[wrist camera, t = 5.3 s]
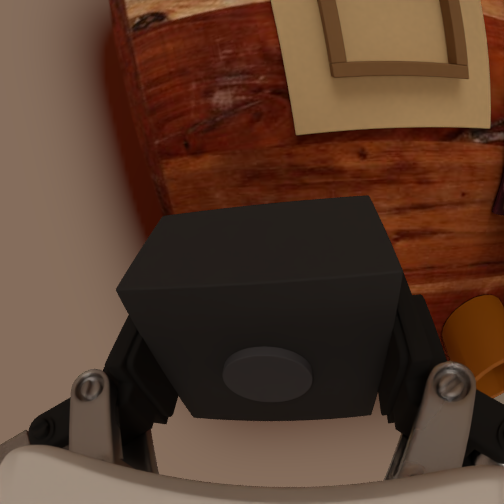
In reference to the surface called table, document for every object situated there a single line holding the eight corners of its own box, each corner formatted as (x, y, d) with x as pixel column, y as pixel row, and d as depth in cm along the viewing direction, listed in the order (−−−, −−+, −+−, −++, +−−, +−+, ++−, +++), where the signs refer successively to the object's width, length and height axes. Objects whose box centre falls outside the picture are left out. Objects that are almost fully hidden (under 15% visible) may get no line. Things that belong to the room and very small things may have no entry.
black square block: (210, 346, 14) (191, 424, 10) (162, 215, 10) (109, 298, 7) (361, 338, 12) (372, 423, 9) (369, 194, 9) (407, 280, 6)
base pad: (295, 133, 22) (296, 141, 20) (249, -83, 12) (245, -95, 10) (485, 126, 19) (500, 134, 17) (454, -74, 9) (467, -81, 7)
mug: (504, 337, 32) (526, 389, 25) (433, 349, 34) (450, 410, 27) (529, 287, 27) (561, 341, 20) (453, 297, 29) (481, 363, 22)
